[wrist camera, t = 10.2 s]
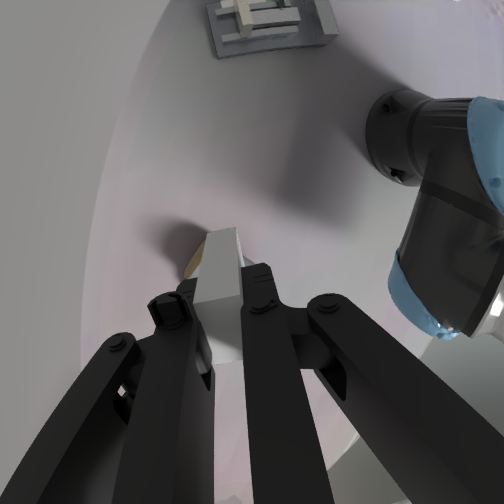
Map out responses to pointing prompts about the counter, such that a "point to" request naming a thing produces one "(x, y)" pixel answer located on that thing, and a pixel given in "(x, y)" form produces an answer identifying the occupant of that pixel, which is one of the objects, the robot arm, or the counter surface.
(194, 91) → the counter surface
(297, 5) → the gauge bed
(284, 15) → the sliding gauge carriage
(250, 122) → the counter surface
